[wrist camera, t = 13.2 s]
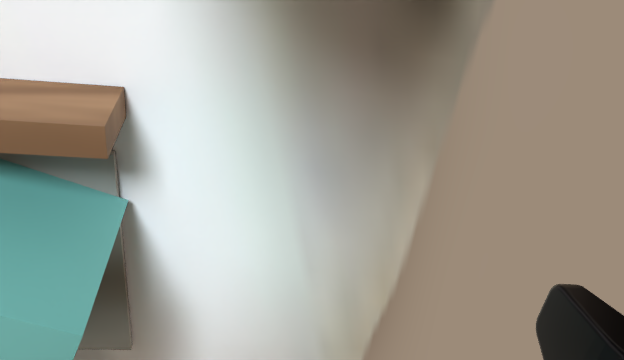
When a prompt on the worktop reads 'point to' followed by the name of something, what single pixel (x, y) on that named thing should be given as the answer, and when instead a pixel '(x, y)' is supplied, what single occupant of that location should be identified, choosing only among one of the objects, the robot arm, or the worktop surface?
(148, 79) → the worktop surface
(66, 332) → the teal block
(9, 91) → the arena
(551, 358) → the robot arm
